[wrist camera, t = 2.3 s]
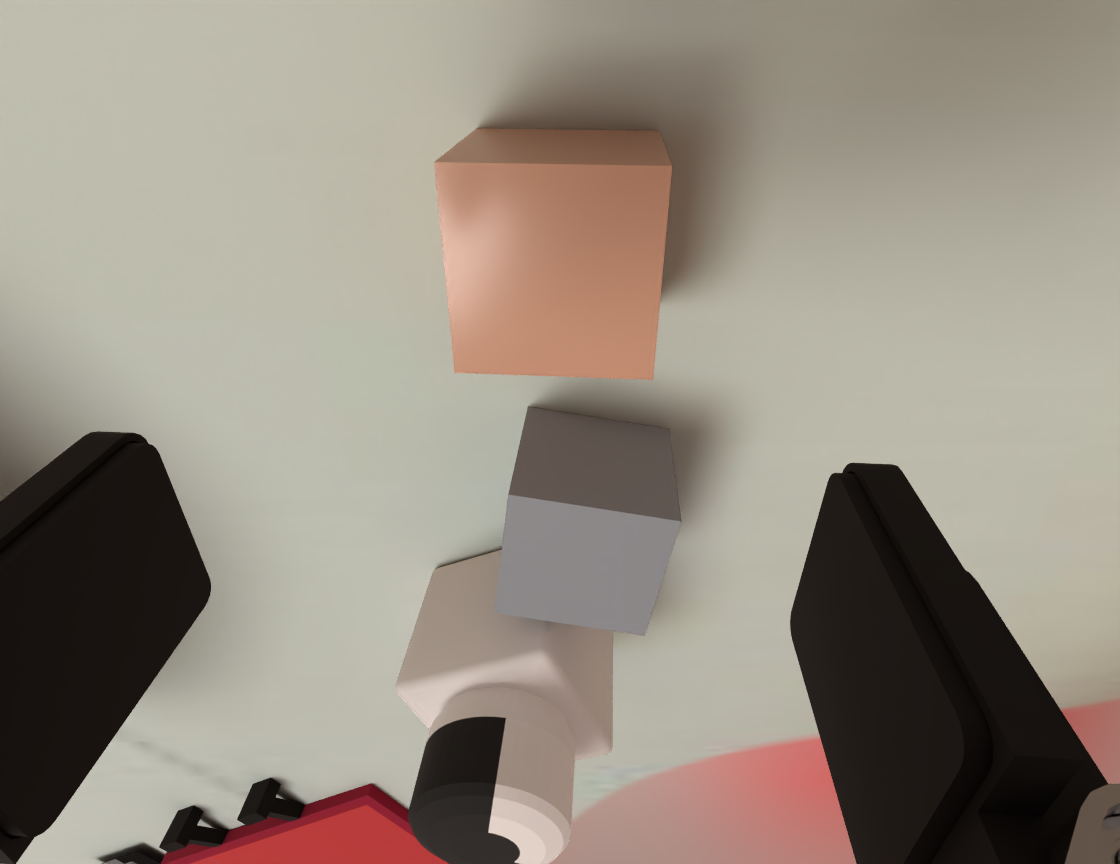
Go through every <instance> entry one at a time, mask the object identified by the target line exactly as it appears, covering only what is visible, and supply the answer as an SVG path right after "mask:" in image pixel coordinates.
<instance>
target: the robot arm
mask: <svg viewBox="0 0 1120 864" xmlns="http://www.w3.org/2000/svg"><path fill="white" fill-rule="evenodd" d="M210 592H211V582H210V578H209V576H208V573H207V571H206V568H205V566H204V563H203V561H202V558H201V556H200V553H199V551H198V548H197V546H196V543H195V541H194V538H193V536H192V533H191V531H190V528H189V526H188V524H187V521H186V519H185V516H184V514H183V511H182V509H181V506H180V504H179V501H178V499H177V496H176V494H175V491H174V489H173V486H172V484H171V481H170V479H169V476H168V474H167V472H166V469H165V467H164V464H163V462H162V459H161V457H160V454H159V452H158V451H157V449H156V448H155V447H154V446H153V445H150V444H148V442H147V440H146V439H145V438H144V437H142V436H141V435H139V434H136V433H121V432H91V433H89V434H87V435H85V436H84V437H82V438H81V439H80V440H78V441H77V442H76V443H75V444H73V445H72V446H71V447H69V448H68V449H67V450H66V451H64V452H63V453H62V454H61V455H59V456H58V457H57V458H55V459H54V460H53V461H52V462H50V463H49V464H48V465H47V466H45V467H44V468H43V469H41V470H40V471H39V472H38V473H36V474H35V475H34V476H32V477H31V478H30V479H29V480H27V481H26V482H25V483H24V484H22V485H21V486H20V487H18V488H17V489H16V490H15V491H13V492H12V493H11V494H10V495H8V496H7V497H6V498H4V499H3V500H2V501H1V502H0V863H2V864H16V863H17V861H18V860H19V858H20V857H21V856H22V854H23V853H24V851H25V850H26V849H27V847H28V846H29V844H30V843H31V841H32V840H33V839H34V837H36V836H38V835H40V834H42V833H43V832H45V831H46V830H47V829H48V828H49V827H50V826H51V825H52V824H53V823H54V821H55V820H56V819H57V817H58V816H59V815H60V813H61V812H62V810H63V809H64V807H65V806H66V805H67V803H68V802H69V800H70V799H71V797H72V796H73V795H74V793H75V792H76V790H77V789H78V787H79V786H80V785H81V783H82V782H83V780H84V779H85V777H86V776H87V774H88V773H89V772H90V770H91V769H92V767H93V766H94V764H95V763H96V762H97V760H98V759H99V757H100V756H101V754H102V753H103V752H104V750H105V749H106V747H107V746H108V744H109V743H110V742H111V740H112V739H113V737H114V736H115V734H116V733H117V732H118V730H119V729H120V727H121V726H122V724H123V723H124V722H125V720H126V719H127V717H128V716H129V714H130V713H131V712H132V710H133V709H134V707H135V706H136V704H137V703H138V701H139V700H140V699H141V697H142V696H143V694H144V693H145V691H146V690H147V689H148V687H149V686H150V684H151V683H152V681H153V680H154V679H155V677H156V676H157V674H158V673H159V671H160V670H161V669H162V667H163V666H164V664H165V663H166V661H167V660H168V659H169V657H170V656H171V654H172V653H173V651H174V650H175V649H176V647H177V646H178V644H179V643H180V641H181V640H182V638H183V637H184V636H185V634H186V633H187V631H188V630H189V628H190V627H191V626H192V624H193V623H194V621H195V620H196V618H197V617H198V616H199V614H200V613H201V611H202V610H203V608H204V607H205V605H206V604H207V602H208V599H209V596H210ZM790 628H791V636H792V640H793V644H794V647H795V651H796V654H797V658H798V661H799V665H800V668H801V672H802V675H803V679H804V682H805V686H806V689H807V693H808V696H809V699H810V703H811V706H812V710H813V713H814V717H815V720H816V724H817V727H818V731H819V734H820V738H821V741H822V745H823V748H824V752H825V755H826V758H827V762H828V766H829V769H830V773H831V776H832V779H833V783H834V786H835V790H836V793H837V797H838V800H839V804H840V807H841V811H842V814H843V818H844V821H845V825H846V828H847V831H848V835H849V839H850V842H851V845H852V849H853V853H854V856H855V859H856V863H857V864H1120V784H1108V783H1107V781H1106V780H1105V778H1104V777H1103V775H1102V773H1101V772H1100V770H1099V769H1098V767H1097V766H1096V764H1095V763H1094V761H1093V760H1092V758H1091V756H1090V755H1089V753H1088V752H1087V751H1086V749H1085V747H1084V746H1083V744H1082V743H1081V741H1080V739H1079V738H1078V736H1077V735H1076V733H1075V732H1074V730H1073V729H1072V727H1071V725H1070V724H1069V723H1068V721H1067V719H1066V718H1065V716H1064V715H1063V713H1062V712H1061V710H1060V708H1059V707H1058V705H1057V704H1056V702H1055V701H1054V699H1053V698H1052V696H1051V695H1050V693H1049V691H1048V690H1047V688H1046V687H1045V685H1044V684H1043V682H1042V681H1041V679H1040V678H1039V676H1038V674H1037V673H1036V671H1035V670H1034V668H1033V667H1032V665H1031V664H1030V662H1029V661H1028V659H1027V657H1026V656H1025V654H1024V653H1023V651H1022V650H1021V648H1020V647H1019V645H1018V644H1017V642H1016V640H1015V639H1014V637H1013V636H1012V634H1011V633H1010V631H1009V630H1008V628H1007V627H1006V625H1005V623H1004V622H1003V620H1002V619H1001V617H1000V616H999V614H998V613H997V611H996V610H995V608H994V606H993V605H992V603H991V602H990V600H989V599H988V597H987V596H986V594H985V593H984V591H983V589H982V588H981V586H980V585H979V583H978V582H977V581H976V580H975V578H974V577H973V576H972V575H971V574H970V573H969V572H967V571H966V570H965V569H964V568H963V566H962V565H961V563H960V561H959V560H958V558H957V557H956V555H955V554H954V552H953V550H952V549H951V547H950V546H949V544H948V543H947V541H946V540H945V538H944V536H943V535H942V533H941V532H940V530H939V529H938V527H937V525H936V524H935V522H934V521H933V519H932V518H931V516H930V514H929V513H928V511H927V510H926V508H925V507H924V505H923V503H922V502H921V500H920V499H919V497H918V496H917V494H916V492H915V491H914V489H913V488H912V486H911V485H910V483H909V482H908V480H907V478H906V477H905V475H904V474H903V472H902V471H901V470H900V468H899V467H898V466H896V465H891V464H867V463H850V464H848V465H847V466H846V467H845V468H844V470H843V473H834V474H832V475H831V476H830V478H829V481H828V483H827V487H826V490H825V494H824V497H823V501H822V505H821V508H820V512H819V515H818V519H817V522H816V526H815V529H814V533H813V537H812V540H811V544H810V547H809V551H808V554H807V558H806V561H805V565H804V568H803V572H802V576H801V579H800V583H799V586H798V590H797V593H796V597H795V600H794V604H793V607H792V611H791V619H790Z"/></svg>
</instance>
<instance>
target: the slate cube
mask: <svg viewBox="0 0 1120 864" xmlns="http://www.w3.org/2000/svg"><path fill="white" fill-rule="evenodd" d="M680 524H681V515H680V508H679V500H678V492H677V485H676V477H675V470H674V462H673V454H672V447H671V439H670V432H669V429H666V428H660V427H654V426H647V425H641V424H635V423H629V422H622V421H616V420H610V419H603V418H597V417H591V416H584V415H578V414H572V413H566V412H559V411H553V410H547V409H540V408H534V407H528V409H527V413H526V418H525V422H524V427H523V431H522V436H521V440H520V445H519V449H518V454H517V458H516V463H515V467H514V472H513V476H512V481H511V485H510V490H509V494H508V502H507V510H506V519H505V527H504V535H503V543H502V551H501V559H500V567H499V575H498V583H497V591H496V599H495V607H494V613H498V614H505V615H511V616H518V617H524V618H531V619H538V620H544V621H551V622H557V623H564V624H570V625H577V626H583V627H590V628H596V629H603V630H610V631H616V632H623V633H629V634H636V635H642V636H645V633H646V630H647V626H648V623H649V620H650V617H651V614H652V611H653V608H654V605H655V602H656V599H657V595H658V592H659V589H660V586H661V583H662V580H663V577H664V574H665V571H666V567H667V564H668V561H669V558H670V555H671V552H672V549H673V546H674V543H675V540H676V536H677V533H678V530H679V527H680Z"/></svg>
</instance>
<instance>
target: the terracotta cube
mask: <svg viewBox="0 0 1120 864" xmlns="http://www.w3.org/2000/svg"><path fill="white" fill-rule="evenodd" d="M434 166H435V176H436V186H437V196H438V206H439V217H440V227H441V237H442V247H443V258H444V268H445V278H446V288H447V298H448V309H449V319H450V329H451V339H452V350H453V360H454V370H455V373H481V374H509V375H537V376H565V377H593V378H621V379H649V380H653V375H654V363H655V352H656V341H657V330H658V319H659V308H660V297H661V286H662V274H663V263H664V252H665V241H666V230H667V219H668V208H669V197H670V185H671V174H672V164H671V161H670V159H669V156H668V153H667V151H666V148H665V145H664V143H663V140H662V137H661V135H660V132H659V131H648V130H567V129H485V128H476V129H475V130H474V131H473V132H471V133H470V134H469V135H468V136H466V137H465V138H464V139H463V140H461V141H460V142H459V143H458V144H456V145H455V146H454V147H453V148H451V149H450V150H449V151H448V152H446V153H445V154H444V155H443V156H441V157H440V158H439V159H438V160H436V161H435V162H434Z"/></svg>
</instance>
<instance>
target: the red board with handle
mask: <svg viewBox="0 0 1120 864" xmlns="http://www.w3.org/2000/svg"><path fill="white" fill-rule="evenodd" d="M280 785H281V784H280V783H278V782H277V781H275V780H274V779H272V778H268V779H266V780H263V781H260V782H257V783H254V784H253V785H252V787H251V789H250V792H249V794H248V796H247V798H246V801H245V803H244V805H243V807H242V810H241V812H240V814H239V816H238V819H237V820H238V821H240V822H242V823H243V824H245V825H244V826H241V827H239V828H236V829H233V830H230V831H226V830H220V829H214V828H208V827H203V826H197V824H198V822H199V820H200V818H201V816H202V814H203V812H204V811H202V810H201V809H199V808H198V807H196V806H194V805H193V806H190V807H188V808H185V809H182V810H179V811H178V812H177V814H176V816H175V818H174V819H173V821H172V823H171V825H170V827H169V829H168V831H167V833H166V835H165V837H164V839H163V840H162V842H161V844H160V846H159V848H161V849H163V850H165V851H167V852H166V854H165V856H164V858H163V860H162V862H161V864H449V863H447V862H446V861H444V860H442V859H440V858H439V857H437V856H435V855H433V854H432V853H431V852H429V851H428V850H426V849H425V848H424V847H423V846H422V845H421V844H420V843H419V842H418V840H417V839H416V837H415V835H414V833H413V831H412V829H411V827H410V824H409V821H408V812H409V811H408V810H407V809H405V808H404V807H403V806H401V805H400V804H399V803H397V802H396V801H394V800H393V799H392V798H390V797H389V796H388V795H386V794H385V793H384V792H382V791H381V790H380V789H378V788H377V787H376V786H374V785H373V784H368V785H365V786H362V787H359V788H356V789H353V790H349V791H346V792H343V793H340V794H337V795H334V796H331V797H328V798H325V799H322V800H319V801H316V802H313V803H310V804H307V805H304V804H302V803H298V802H293V801H289V800H284V799H280V798H275V797H276V795H277V792H278V790H279V787H280ZM187 844H189V845H187ZM102 864H160V863H158V862H156V861H154V860H152V859H150V858H148V857H146V856H144V855H143V854H141V853H139V852H137V851H136V852H133V853H130V854H128V855H125V856H122V857H119V858H116V859H114V860H111V861H108V862H105V863H102Z"/></svg>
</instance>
